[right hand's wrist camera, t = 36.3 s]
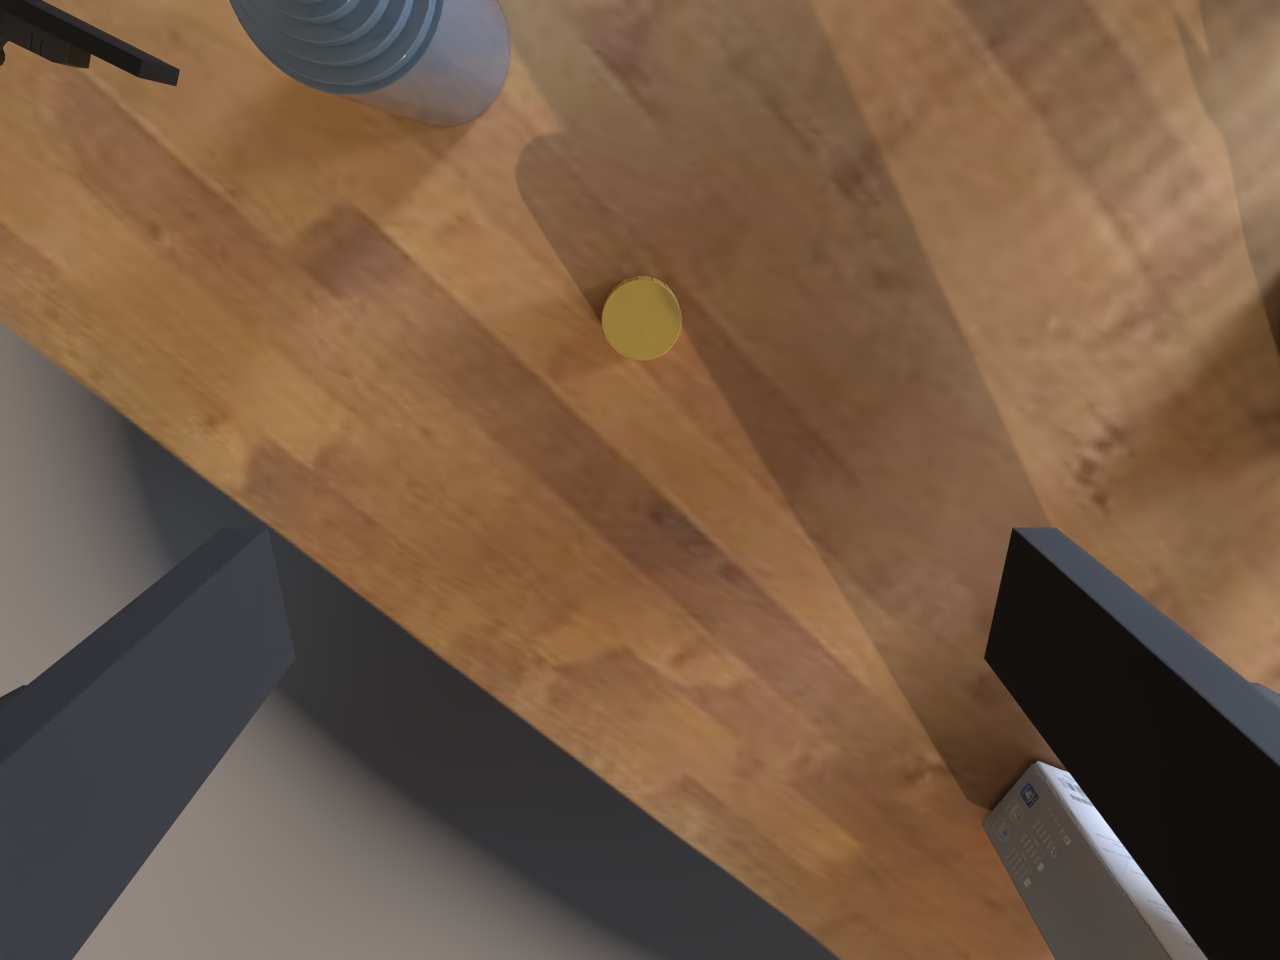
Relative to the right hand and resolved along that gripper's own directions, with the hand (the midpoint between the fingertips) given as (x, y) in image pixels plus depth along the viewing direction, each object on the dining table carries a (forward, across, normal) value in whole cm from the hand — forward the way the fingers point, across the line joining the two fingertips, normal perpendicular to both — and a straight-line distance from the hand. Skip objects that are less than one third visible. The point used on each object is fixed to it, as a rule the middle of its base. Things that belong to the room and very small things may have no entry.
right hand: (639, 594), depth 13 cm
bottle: (+32, +11, -14) cm, 37 cm away
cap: (+30, 0, 0) cm, 30 cm away
